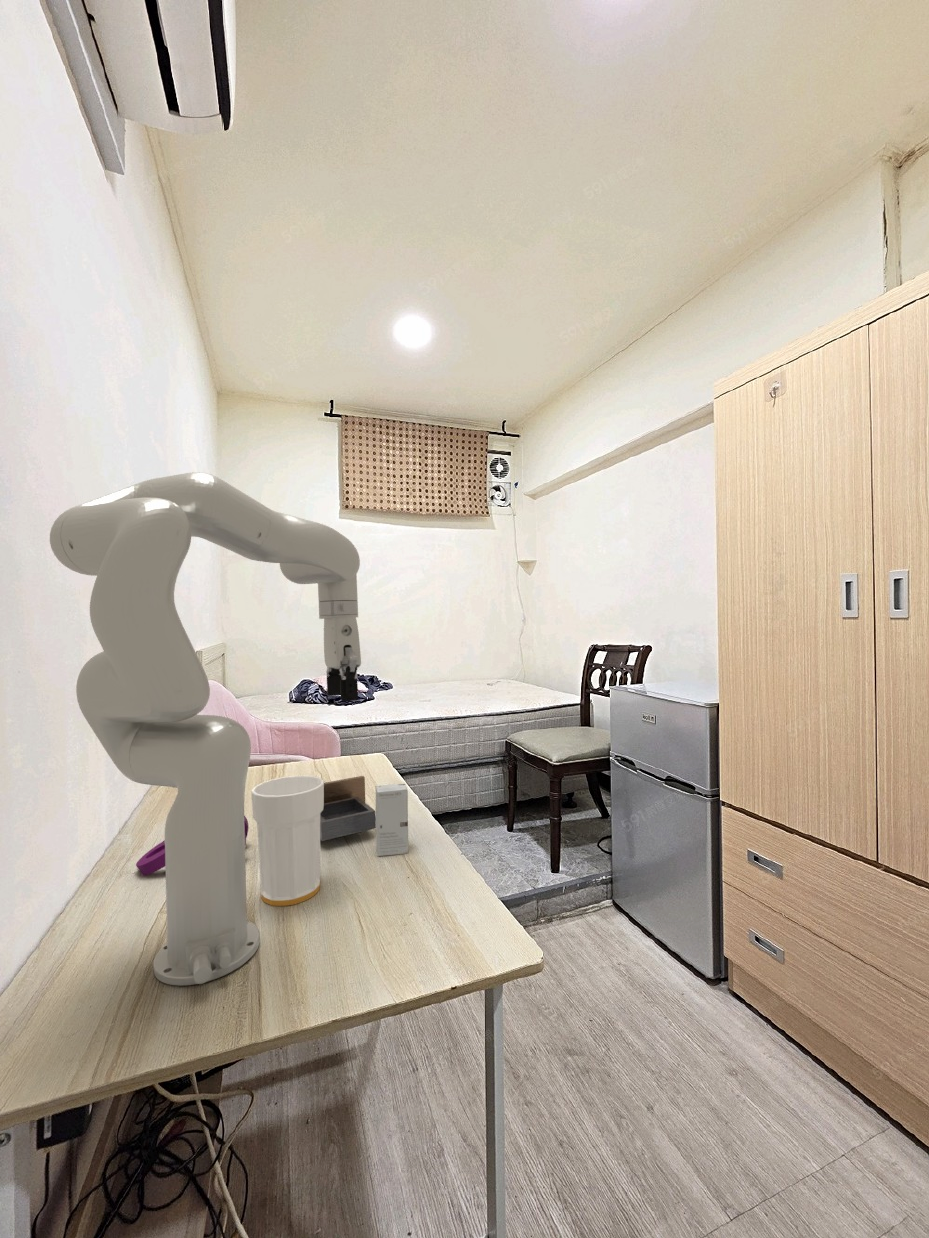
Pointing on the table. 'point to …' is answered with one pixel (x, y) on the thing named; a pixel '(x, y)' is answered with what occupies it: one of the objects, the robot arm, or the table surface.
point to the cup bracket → (345, 809)
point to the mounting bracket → (161, 857)
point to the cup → (289, 837)
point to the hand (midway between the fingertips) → (342, 697)
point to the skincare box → (391, 819)
